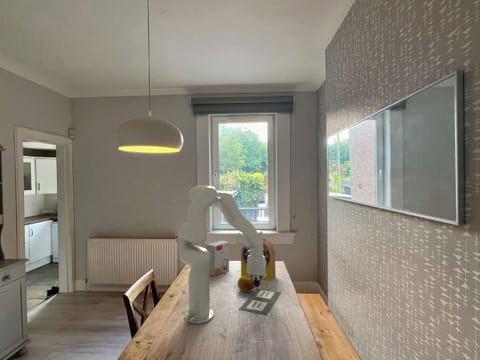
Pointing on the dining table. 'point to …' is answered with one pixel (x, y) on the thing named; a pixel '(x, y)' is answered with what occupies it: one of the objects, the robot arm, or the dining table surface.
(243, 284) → the fruit
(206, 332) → the dining table surface
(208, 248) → the hard drive box
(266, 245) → the alarm clock
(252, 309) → the label mat
